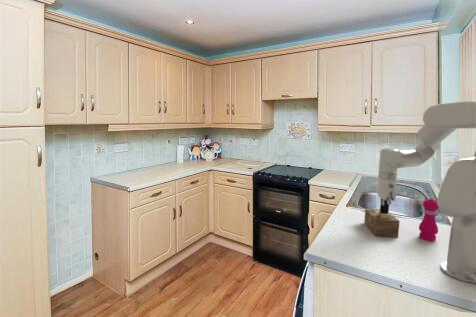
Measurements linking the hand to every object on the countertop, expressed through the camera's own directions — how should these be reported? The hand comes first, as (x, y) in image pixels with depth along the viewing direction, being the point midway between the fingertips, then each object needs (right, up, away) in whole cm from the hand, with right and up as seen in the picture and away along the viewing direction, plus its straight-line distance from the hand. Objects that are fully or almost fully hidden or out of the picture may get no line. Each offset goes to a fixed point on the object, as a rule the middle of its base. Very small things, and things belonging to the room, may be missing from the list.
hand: (384, 212), depth 130 cm
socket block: (+1, -9, +5) cm, 11 cm away
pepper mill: (+18, -11, -4) cm, 21 cm away
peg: (0, -8, +1) cm, 8 cm away
